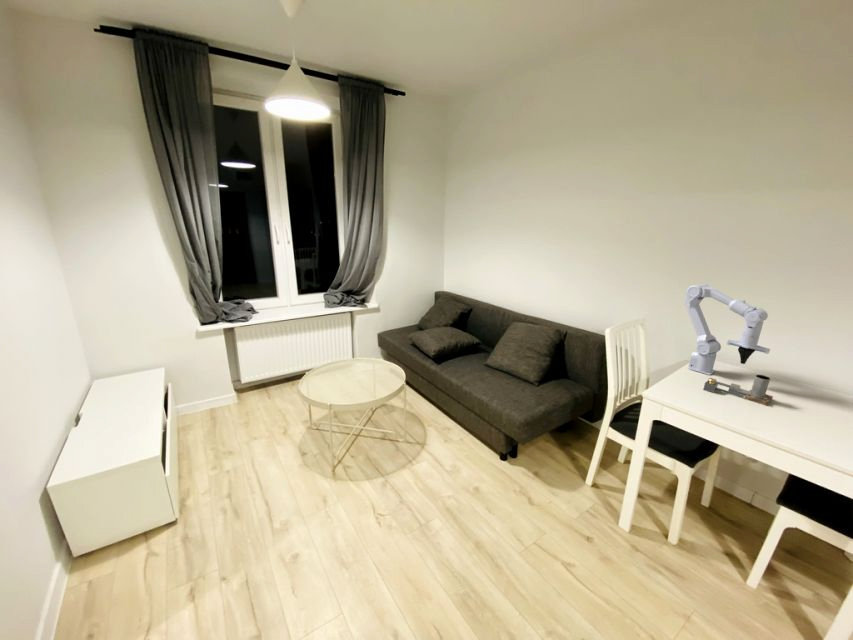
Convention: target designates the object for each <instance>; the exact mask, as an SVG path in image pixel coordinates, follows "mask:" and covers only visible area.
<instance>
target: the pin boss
mask: <svg viewBox="0 0 853 640" xmlns="http://www.w3.org/2000/svg"><path fill="white" fill-rule="evenodd" d="M718 387H719V384H718V383H715V384H714V385H712V384H709V380H707V381H706V382H704V386H703V391H706V392H709V393H712V394H714V393H716V391H718V390H717V388H718Z"/></svg>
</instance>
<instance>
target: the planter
mask: <svg viewBox="0 0 853 640" xmlns="http://www.w3.org/2000/svg"><path fill="white" fill-rule="evenodd" d="M770 381H771V378H770V377H768V376H767V375H764V374H756V375H755V378H754V380H753V384H752V386H751V389H750V390H751V393H750V396H751V397H754V398H757V399H760V400H764V401H765V398H764V397H765V394H767V390H768V388H769V384H770Z"/></svg>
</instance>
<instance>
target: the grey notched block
mask: <svg viewBox="0 0 853 640" xmlns="http://www.w3.org/2000/svg"><path fill="white" fill-rule="evenodd" d="M729 385H730V387H728V390H727V391H730V392H733V393H736V394H739V395H742V396H744V398H745V395H748V396H750V393H751V391H750V390H747V389H744V388H741V385H740V384H737V383H733V382H732V383H731V384H729ZM740 388H741V389H740Z"/></svg>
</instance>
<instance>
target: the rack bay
mask: <svg viewBox="0 0 853 640" xmlns="http://www.w3.org/2000/svg"><path fill="white" fill-rule="evenodd" d="M751 390H752V389H750V390H749V391H751ZM773 398H774V396H773V395H770V394H767V393H766V394H765V397H764V400H760V399H757V398H754V397H751V396H748V395H745V397H744V398H743V399H744V400H747V401H751V402H753V403H757V404H759V405H762V406H765V407H766V406H768V405H769V404H770V402H771V401H773ZM765 399H766V400H765Z"/></svg>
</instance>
